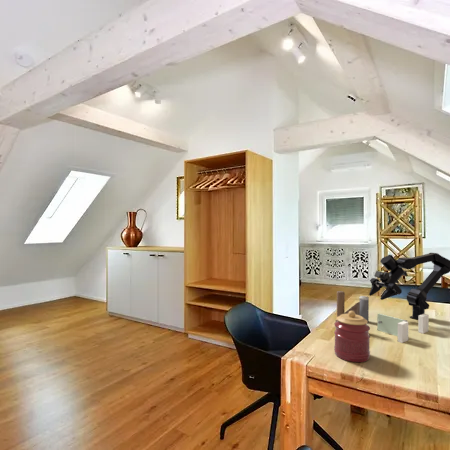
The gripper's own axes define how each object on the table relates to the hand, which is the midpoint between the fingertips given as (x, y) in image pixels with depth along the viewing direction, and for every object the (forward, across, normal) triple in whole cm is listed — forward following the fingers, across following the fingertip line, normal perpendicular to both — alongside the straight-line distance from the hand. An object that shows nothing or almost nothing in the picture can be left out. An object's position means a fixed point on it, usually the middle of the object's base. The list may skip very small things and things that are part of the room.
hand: (375, 297), depth 163 cm
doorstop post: (+14, 0, +4) cm, 14 cm away
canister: (+36, +38, -17) cm, 55 cm away
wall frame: (+7, +23, +11) cm, 27 cm away
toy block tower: (+25, +9, -6) cm, 27 cm away
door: (+13, +19, +5) cm, 24 cm away
